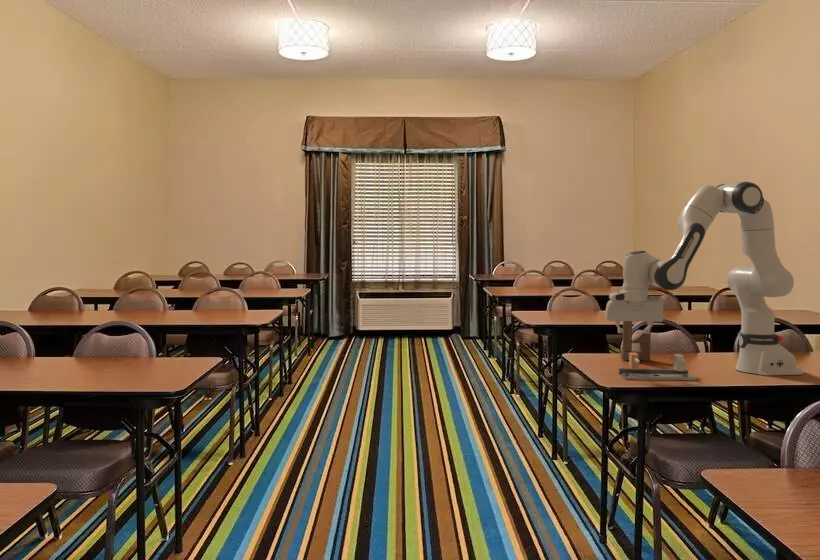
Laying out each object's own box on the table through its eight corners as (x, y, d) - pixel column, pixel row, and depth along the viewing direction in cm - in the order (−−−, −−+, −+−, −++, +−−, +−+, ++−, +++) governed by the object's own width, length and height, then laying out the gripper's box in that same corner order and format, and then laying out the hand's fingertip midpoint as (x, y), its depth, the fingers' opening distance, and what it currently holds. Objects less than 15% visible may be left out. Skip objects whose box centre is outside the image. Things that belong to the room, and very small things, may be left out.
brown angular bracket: (650, 361, 282) (651, 316, 280) (622, 360, 283) (623, 316, 281) (648, 359, 285) (649, 315, 284) (620, 359, 286) (621, 315, 285)
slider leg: (635, 367, 259) (635, 352, 258) (641, 372, 249) (642, 357, 249) (628, 367, 259) (629, 352, 259) (634, 372, 249) (635, 357, 249)
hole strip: (691, 377, 250) (691, 374, 250) (695, 380, 245) (695, 377, 245) (621, 376, 252) (621, 372, 252) (624, 379, 247) (624, 375, 247)
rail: (685, 373, 257) (685, 354, 257) (693, 379, 248) (694, 359, 247) (618, 372, 260) (618, 353, 259) (623, 378, 250) (624, 358, 249)
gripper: (661, 295, 257) (660, 332, 258) (604, 294, 259) (603, 331, 260) (666, 296, 251) (665, 335, 252) (608, 295, 253) (606, 333, 253)
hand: (633, 333), depth 256 cm, fingers open, 8 cm apart
